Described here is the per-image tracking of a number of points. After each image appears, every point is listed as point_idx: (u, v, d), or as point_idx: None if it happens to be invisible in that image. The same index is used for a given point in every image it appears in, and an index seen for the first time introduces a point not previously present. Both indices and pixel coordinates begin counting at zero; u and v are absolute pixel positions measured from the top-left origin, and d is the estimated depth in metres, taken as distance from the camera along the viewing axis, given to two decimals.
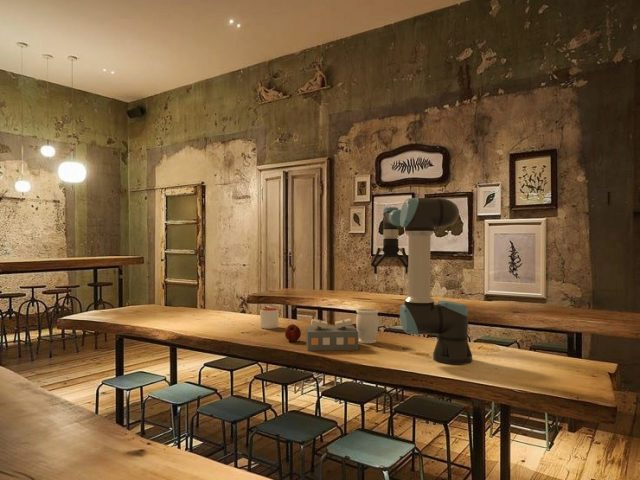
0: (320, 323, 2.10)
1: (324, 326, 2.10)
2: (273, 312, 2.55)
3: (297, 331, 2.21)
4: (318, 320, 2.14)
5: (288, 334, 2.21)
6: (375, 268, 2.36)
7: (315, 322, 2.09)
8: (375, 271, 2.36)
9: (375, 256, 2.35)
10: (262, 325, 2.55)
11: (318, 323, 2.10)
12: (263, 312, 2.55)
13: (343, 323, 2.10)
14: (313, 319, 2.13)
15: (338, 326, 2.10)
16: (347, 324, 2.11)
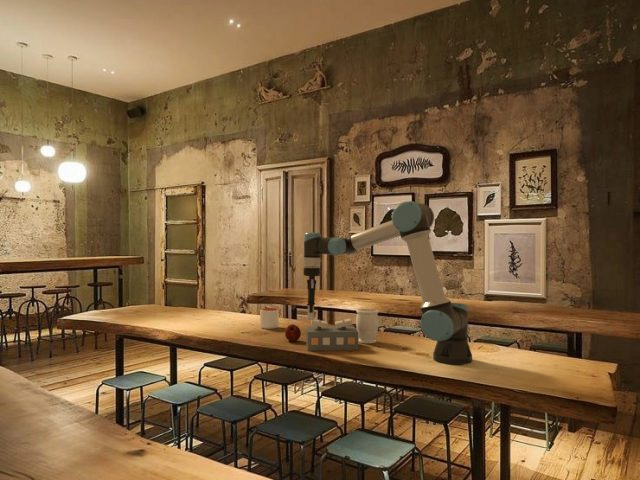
0: (320, 323, 2.10)
1: (324, 326, 2.10)
2: (273, 312, 2.55)
3: (297, 331, 2.21)
4: (318, 320, 2.14)
5: (288, 334, 2.21)
6: None
7: (315, 322, 2.09)
8: None
9: None
10: (262, 325, 2.55)
11: (318, 323, 2.10)
12: (263, 312, 2.55)
13: (343, 323, 2.10)
14: None
15: (338, 326, 2.10)
16: (347, 324, 2.11)
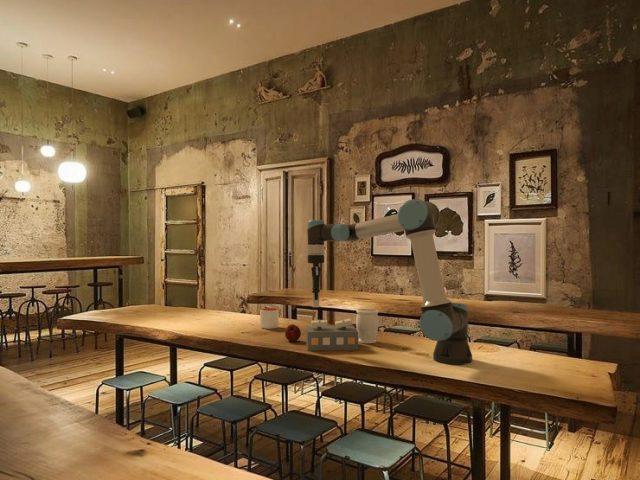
0: (320, 323, 2.10)
1: (324, 325, 2.10)
2: (273, 312, 2.55)
3: (297, 331, 2.21)
4: (317, 320, 2.14)
5: (288, 334, 2.21)
6: None
7: (315, 323, 2.09)
8: None
9: (312, 279, 2.16)
10: (262, 325, 2.55)
11: (318, 323, 2.10)
12: (263, 312, 2.55)
13: (343, 323, 2.10)
14: (312, 321, 2.13)
15: (338, 326, 2.10)
16: (347, 324, 2.11)
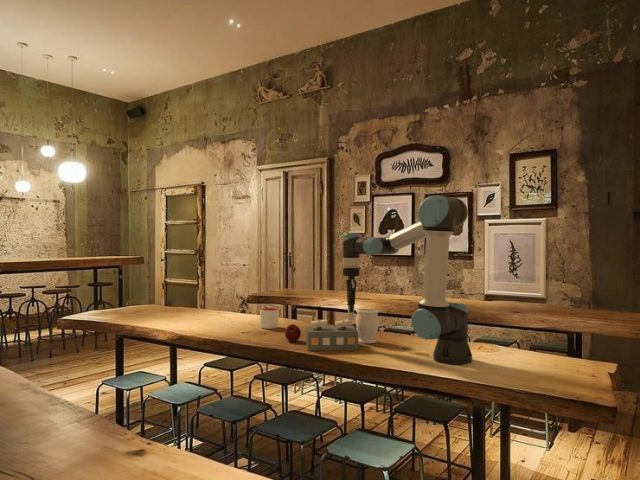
0: (320, 323, 2.10)
1: (324, 324, 2.10)
2: (273, 312, 2.55)
3: (297, 331, 2.21)
4: (317, 320, 2.14)
5: (288, 334, 2.21)
6: None
7: (315, 324, 2.09)
8: None
9: None
10: (262, 325, 2.55)
11: (318, 323, 2.10)
12: (263, 312, 2.55)
13: (343, 323, 2.10)
14: (312, 321, 2.13)
15: (338, 326, 2.10)
16: (347, 324, 2.11)
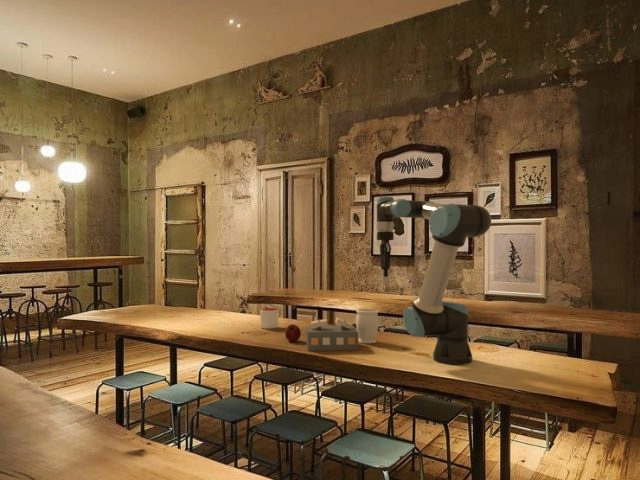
0: (320, 323, 2.10)
1: (324, 324, 2.10)
2: (273, 312, 2.55)
3: (297, 331, 2.21)
4: None
5: (288, 334, 2.21)
6: None
7: (315, 324, 2.09)
8: None
9: (380, 256, 2.17)
10: (262, 325, 2.55)
11: (318, 324, 2.10)
12: (263, 312, 2.55)
13: (344, 323, 2.10)
14: (312, 321, 2.13)
15: (338, 322, 2.10)
16: (346, 326, 2.11)
